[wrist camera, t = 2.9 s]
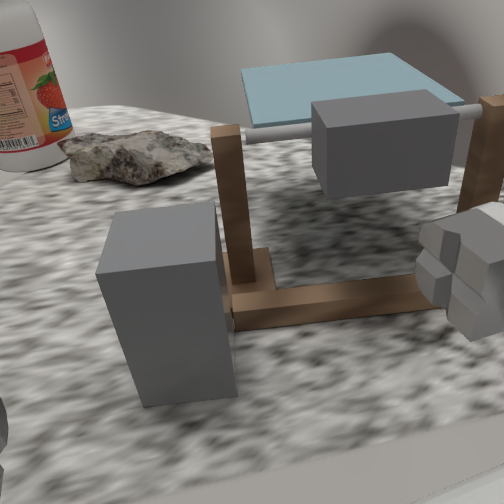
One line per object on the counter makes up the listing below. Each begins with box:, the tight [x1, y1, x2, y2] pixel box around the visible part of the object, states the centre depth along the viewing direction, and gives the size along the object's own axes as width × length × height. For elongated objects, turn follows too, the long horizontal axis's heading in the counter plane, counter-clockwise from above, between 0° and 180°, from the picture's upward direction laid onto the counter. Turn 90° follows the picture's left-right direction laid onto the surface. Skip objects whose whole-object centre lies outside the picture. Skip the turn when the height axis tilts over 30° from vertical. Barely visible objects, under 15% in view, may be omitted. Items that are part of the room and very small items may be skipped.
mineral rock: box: [57, 131, 213, 186], centre depth 47 cm, size 15×8×4 cm, turn 69°
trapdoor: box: [241, 53, 483, 199], centre depth 30 cm, size 13×19×4 cm
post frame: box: [211, 94, 504, 331], centre depth 28 cm, size 19×7×11 cm, turn 94°
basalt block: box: [95, 201, 238, 407], centre depth 24 cm, size 5×5×9 cm
